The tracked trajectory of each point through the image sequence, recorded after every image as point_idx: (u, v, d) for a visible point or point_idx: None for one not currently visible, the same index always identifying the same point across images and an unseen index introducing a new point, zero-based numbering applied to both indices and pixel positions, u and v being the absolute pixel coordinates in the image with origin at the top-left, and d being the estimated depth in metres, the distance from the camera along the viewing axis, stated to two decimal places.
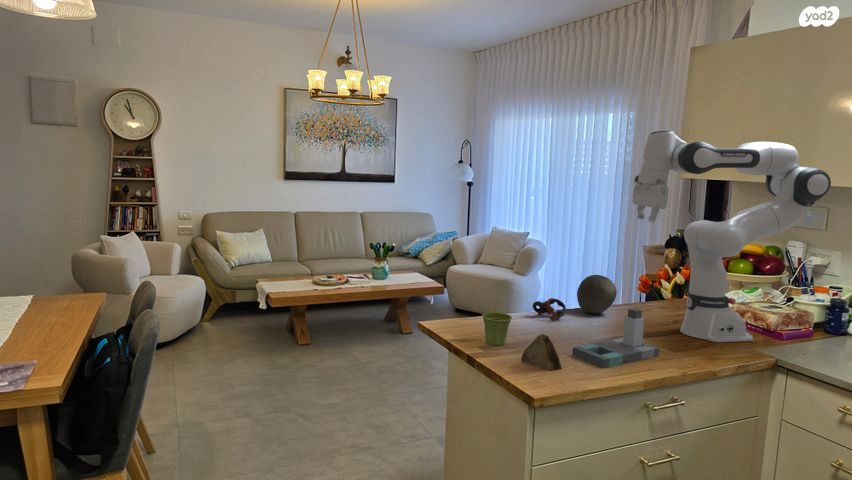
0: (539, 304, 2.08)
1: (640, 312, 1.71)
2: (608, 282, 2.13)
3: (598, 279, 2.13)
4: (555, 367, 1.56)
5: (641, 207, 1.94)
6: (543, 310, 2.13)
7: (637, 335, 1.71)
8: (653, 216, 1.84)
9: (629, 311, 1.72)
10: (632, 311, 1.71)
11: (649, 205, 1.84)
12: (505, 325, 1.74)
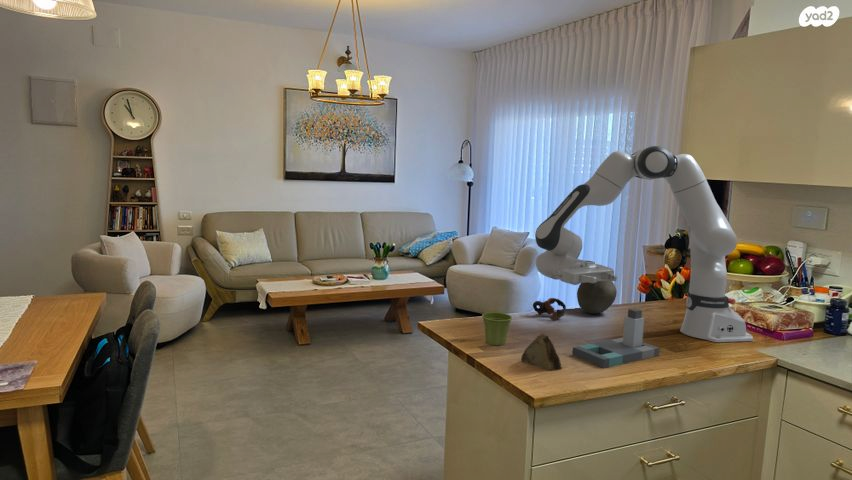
0: (539, 304, 2.09)
1: (640, 312, 1.71)
2: (608, 282, 2.13)
3: None
4: (555, 367, 1.56)
5: (606, 276, 1.87)
6: (543, 310, 2.14)
7: (637, 335, 1.71)
8: (588, 279, 1.80)
9: (629, 311, 1.72)
10: (632, 311, 1.71)
11: (581, 282, 1.83)
12: (505, 325, 1.74)
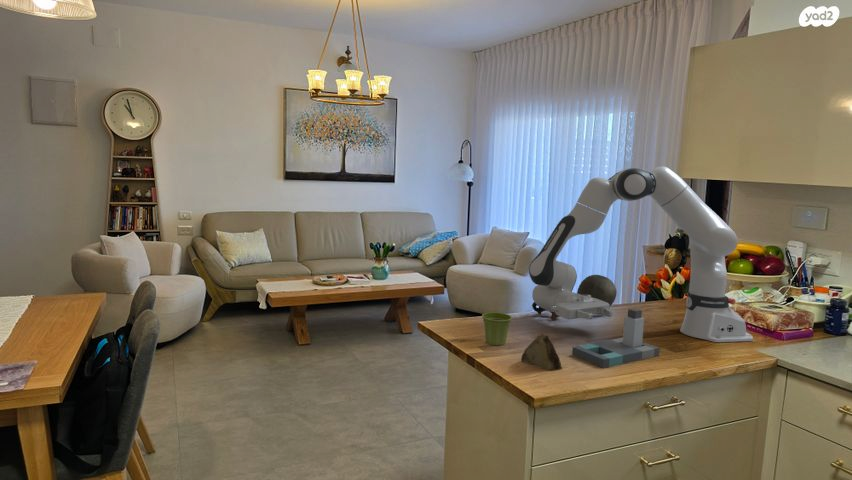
0: None
1: (640, 312, 1.71)
2: (608, 282, 2.13)
3: (598, 279, 2.13)
4: (555, 367, 1.56)
5: (602, 311, 1.88)
6: None
7: (637, 335, 1.71)
8: (584, 315, 1.81)
9: (629, 311, 1.72)
10: (632, 311, 1.71)
11: None
12: (505, 325, 1.74)
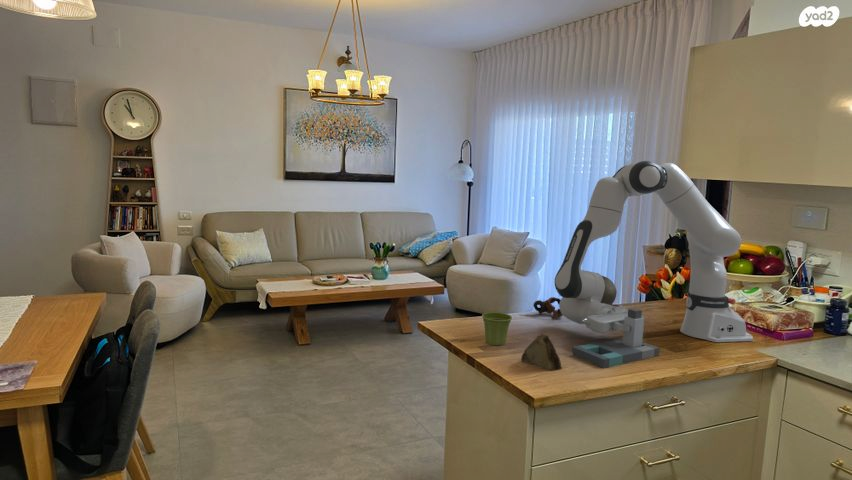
0: (540, 303, 2.10)
1: (640, 312, 1.71)
2: (608, 282, 2.13)
3: None
4: (555, 367, 1.56)
5: None
6: (543, 309, 2.15)
7: (637, 335, 1.71)
8: (623, 328, 1.71)
9: (629, 311, 1.72)
10: (632, 311, 1.71)
11: (610, 331, 1.74)
12: (505, 325, 1.74)
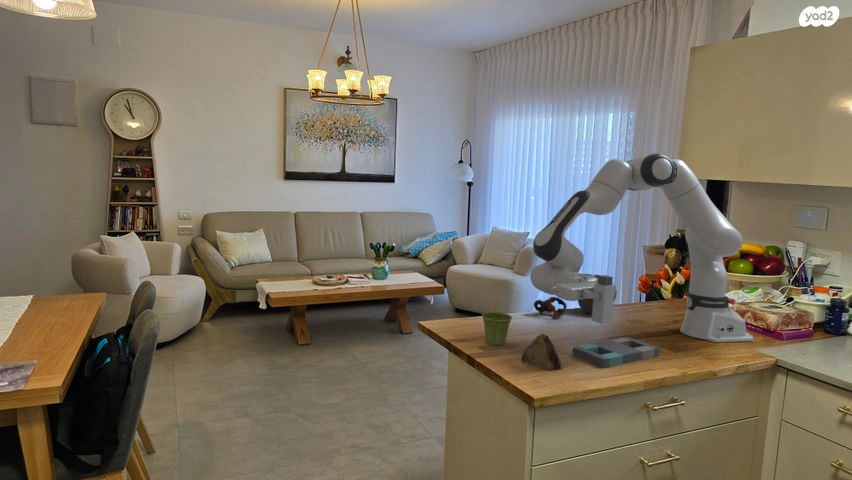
0: (540, 303, 2.11)
1: (611, 279, 1.62)
2: None
3: None
4: (555, 367, 1.56)
5: None
6: (544, 309, 2.16)
7: (608, 303, 1.62)
8: (592, 295, 1.63)
9: (599, 278, 1.63)
10: (602, 278, 1.62)
11: None
12: (505, 325, 1.74)
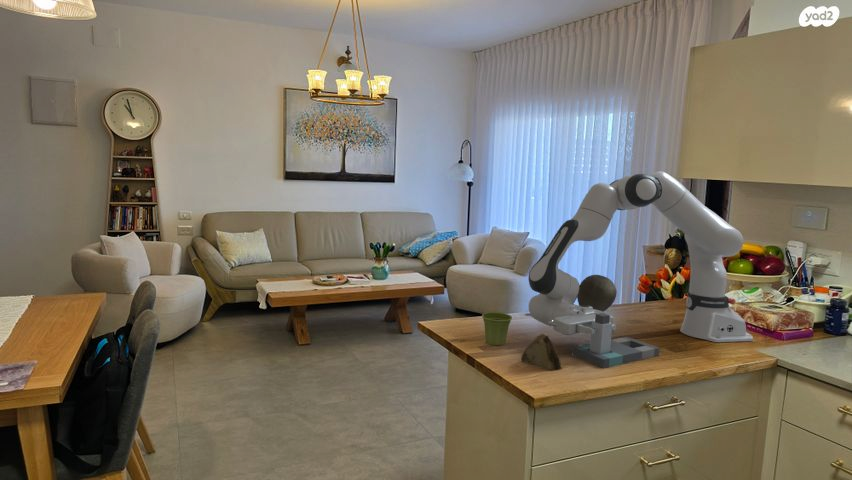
0: None
1: (608, 317, 1.64)
2: (608, 282, 2.13)
3: (598, 279, 2.13)
4: (555, 367, 1.56)
5: None
6: None
7: (605, 341, 1.64)
8: (586, 330, 1.63)
9: (596, 316, 1.65)
10: (599, 316, 1.64)
11: None
12: (505, 325, 1.74)
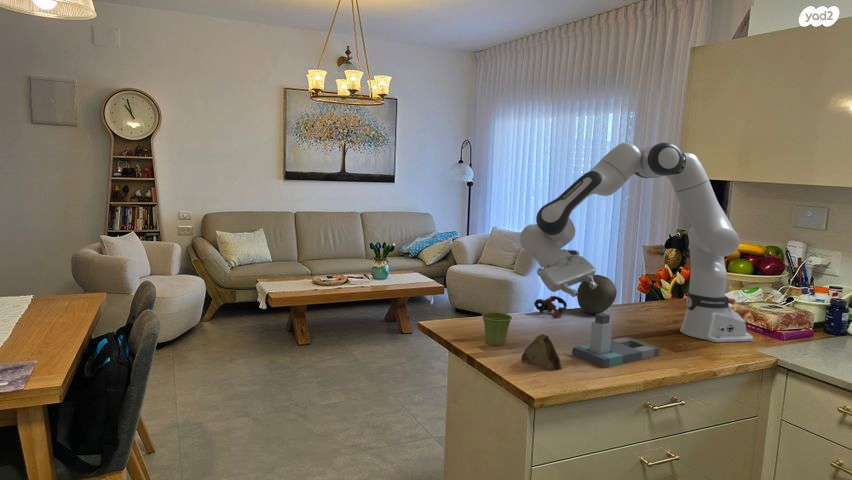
0: (541, 302, 2.12)
1: (608, 317, 1.64)
2: (608, 282, 2.13)
3: (598, 279, 2.13)
4: (555, 367, 1.56)
5: (587, 279, 1.83)
6: (544, 307, 2.17)
7: (605, 341, 1.64)
8: (570, 292, 1.76)
9: (596, 316, 1.65)
10: (599, 316, 1.64)
11: None
12: (505, 325, 1.74)
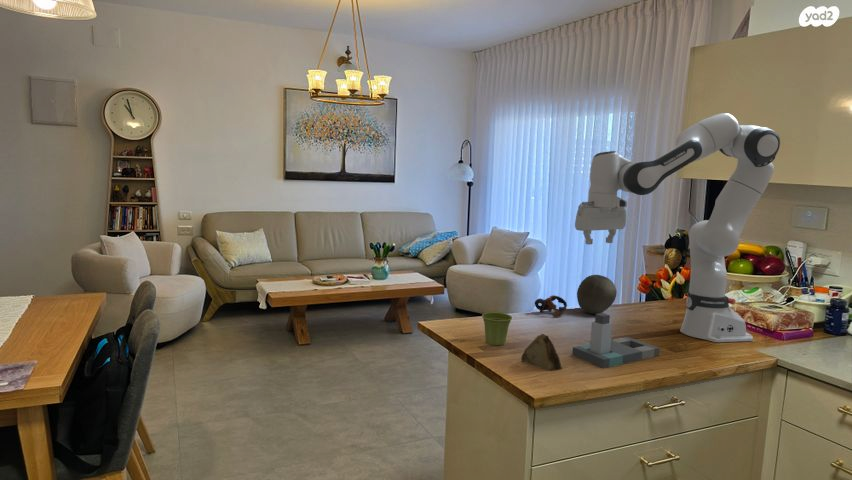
0: (541, 301, 2.13)
1: (608, 317, 1.64)
2: (608, 282, 2.13)
3: (598, 279, 2.13)
4: (555, 367, 1.56)
5: (610, 231, 1.88)
6: (544, 307, 2.18)
7: (605, 341, 1.64)
8: (587, 238, 1.82)
9: (596, 316, 1.65)
10: (599, 316, 1.64)
11: None
12: (505, 325, 1.74)
